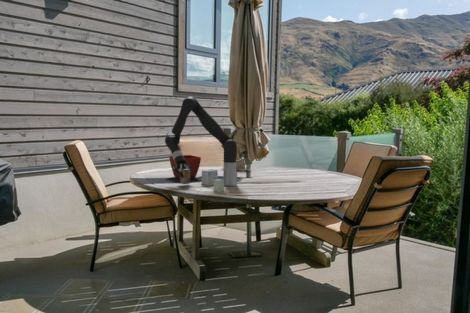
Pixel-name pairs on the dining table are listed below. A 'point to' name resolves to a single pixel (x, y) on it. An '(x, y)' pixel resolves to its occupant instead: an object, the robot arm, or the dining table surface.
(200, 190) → the lettered tile
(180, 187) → the slate coaster
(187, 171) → the walnut block
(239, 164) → the cookie jar
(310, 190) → the dining table surface
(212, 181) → the light bulb box
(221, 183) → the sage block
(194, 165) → the plant pot
